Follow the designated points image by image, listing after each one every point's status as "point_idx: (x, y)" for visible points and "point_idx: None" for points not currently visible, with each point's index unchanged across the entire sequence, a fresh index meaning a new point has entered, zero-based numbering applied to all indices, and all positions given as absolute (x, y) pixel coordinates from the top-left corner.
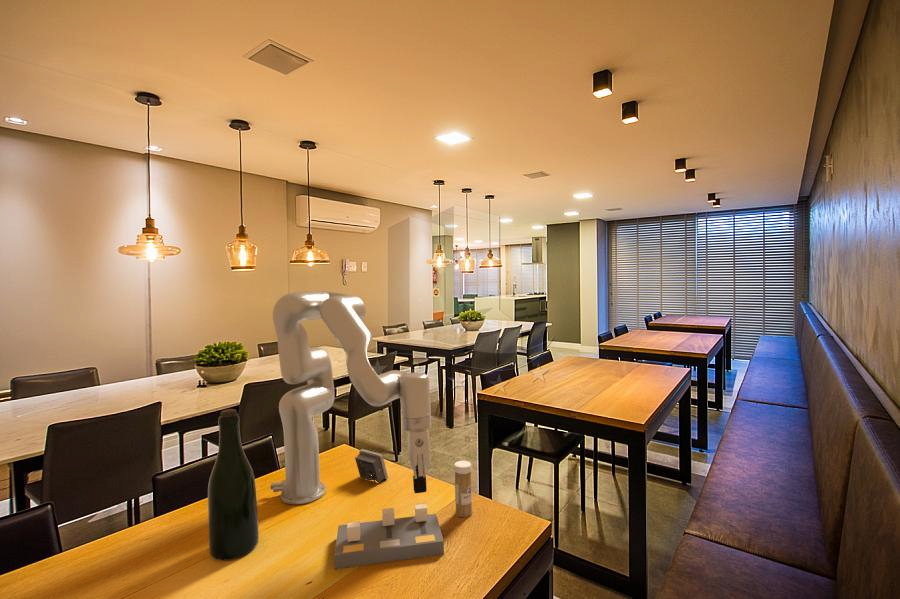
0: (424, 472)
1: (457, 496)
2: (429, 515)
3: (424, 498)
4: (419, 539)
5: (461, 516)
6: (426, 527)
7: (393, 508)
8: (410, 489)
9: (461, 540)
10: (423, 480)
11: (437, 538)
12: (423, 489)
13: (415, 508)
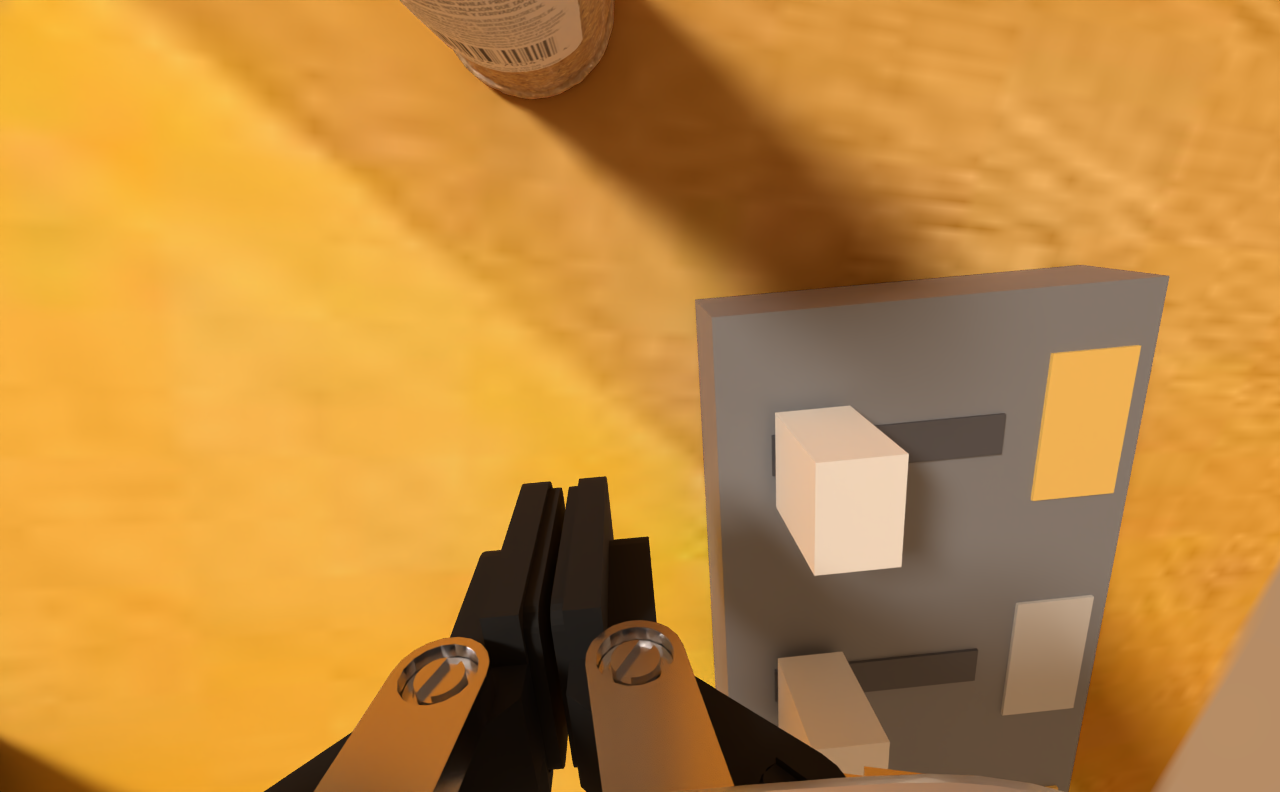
0: (709, 733)
1: (570, 23)
2: (733, 380)
3: (229, 384)
4: (1079, 469)
5: (606, 43)
6: (921, 411)
7: (829, 751)
8: (61, 504)
9: (957, 100)
10: (610, 604)
11: (1111, 326)
12: (608, 525)
13: (882, 568)
